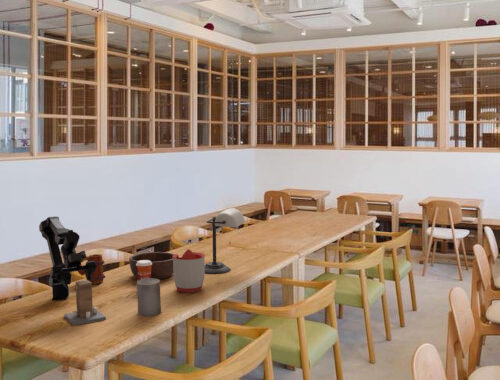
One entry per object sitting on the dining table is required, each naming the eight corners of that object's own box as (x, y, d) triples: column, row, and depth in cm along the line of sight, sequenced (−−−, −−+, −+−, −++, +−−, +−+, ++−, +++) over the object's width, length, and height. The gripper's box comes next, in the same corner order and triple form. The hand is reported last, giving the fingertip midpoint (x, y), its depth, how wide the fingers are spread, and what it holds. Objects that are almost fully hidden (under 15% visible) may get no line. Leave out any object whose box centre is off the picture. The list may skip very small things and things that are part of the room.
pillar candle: (150, 307, 248) (149, 273, 246) (165, 311, 242) (164, 277, 240) (133, 313, 241) (131, 278, 239) (148, 317, 234) (146, 282, 233)
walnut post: (76, 314, 235) (75, 281, 233) (88, 312, 237) (87, 280, 236) (80, 318, 230) (79, 284, 229) (92, 315, 233) (91, 282, 232)
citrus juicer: (193, 282, 287) (192, 244, 285) (211, 290, 273) (211, 249, 271) (165, 288, 278) (164, 248, 276) (183, 296, 264) (182, 254, 262)
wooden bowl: (125, 272, 308) (124, 254, 307) (169, 268, 319) (169, 250, 318) (135, 284, 286) (135, 264, 285) (183, 278, 296) (183, 259, 295)
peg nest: (64, 317, 236) (64, 308, 235) (95, 311, 243) (94, 302, 243) (74, 325, 225) (73, 316, 225) (105, 319, 232) (105, 310, 232)
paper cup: (137, 292, 270) (136, 263, 269) (135, 288, 278) (135, 260, 276) (153, 291, 273) (153, 262, 271) (152, 287, 280) (151, 259, 278)
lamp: (235, 277, 297) (234, 213, 293) (191, 275, 302) (190, 212, 299) (247, 265, 322) (247, 206, 319) (206, 263, 328) (205, 205, 324)
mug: (107, 280, 293) (106, 251, 291) (103, 284, 285) (102, 255, 283) (78, 280, 292) (77, 252, 291) (74, 285, 284) (73, 255, 283)
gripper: (50, 247, 236) (59, 279, 228) (94, 242, 246) (104, 272, 238) (46, 262, 243) (54, 294, 235) (89, 256, 253) (98, 286, 246)
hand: (78, 286), depth 238 cm, fingers open, 9 cm apart
